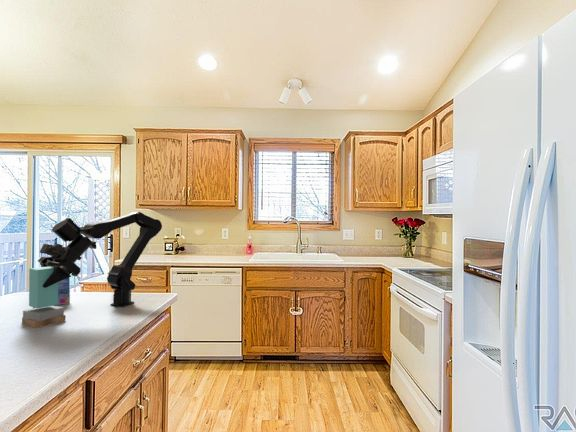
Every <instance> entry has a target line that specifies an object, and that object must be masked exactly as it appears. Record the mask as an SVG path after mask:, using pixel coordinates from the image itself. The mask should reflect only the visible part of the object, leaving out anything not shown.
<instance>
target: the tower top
mask: <svg viewBox="0 0 576 432" xmlns="http://www.w3.org/2000/svg"><path fill="white" fill-rule="evenodd" d="M64 310H65V308H64V307H63V306H59V305H53V306H48V307H43V308H38V309H37V308H33V307H32V308H28V309H24V310H23V311H22V317H23V318H24V319H30V320H35V321H42V320H46V319H50V318H53V317H57V316H61V315H65V314H64V312H65V311H64Z"/></svg>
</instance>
